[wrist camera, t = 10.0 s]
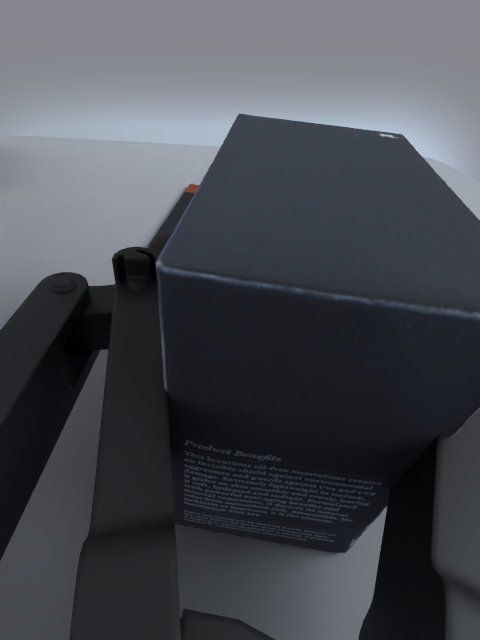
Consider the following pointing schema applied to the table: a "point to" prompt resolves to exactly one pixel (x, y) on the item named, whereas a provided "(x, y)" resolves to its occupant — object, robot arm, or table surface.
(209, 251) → the small box
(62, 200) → the table surface
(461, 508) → the robot arm
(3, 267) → the table surface
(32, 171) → the table surface
